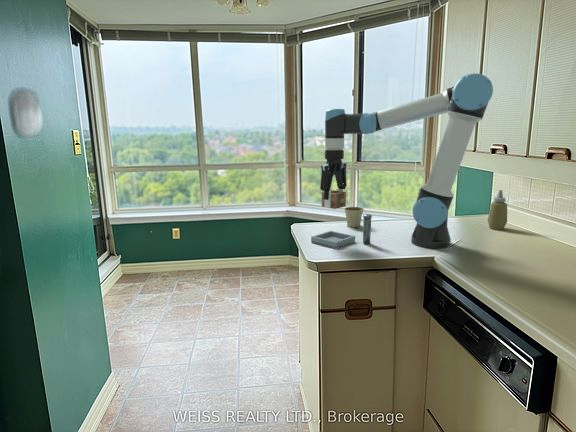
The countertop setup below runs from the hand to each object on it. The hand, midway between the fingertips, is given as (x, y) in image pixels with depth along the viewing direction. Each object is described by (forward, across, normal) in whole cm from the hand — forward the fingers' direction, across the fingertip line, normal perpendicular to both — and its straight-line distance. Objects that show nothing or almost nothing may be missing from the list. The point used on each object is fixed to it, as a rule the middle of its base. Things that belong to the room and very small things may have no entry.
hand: (333, 205), depth 159 cm
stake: (+15, -8, +12) cm, 21 cm away
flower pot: (+16, -28, -9) cm, 34 cm away
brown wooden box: (0, 0, 0) cm, 0 cm away
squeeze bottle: (+16, -68, +43) cm, 82 cm away
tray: (+15, 0, 0) cm, 15 cm away
